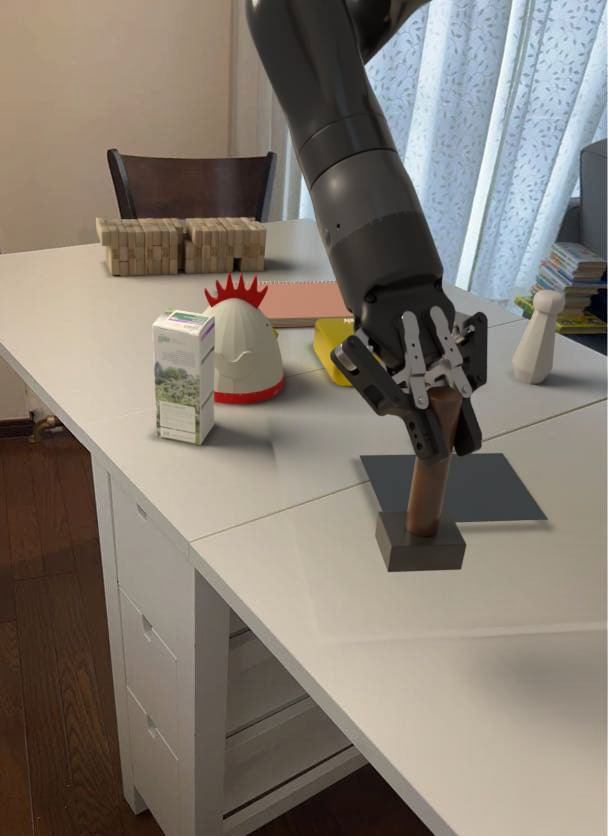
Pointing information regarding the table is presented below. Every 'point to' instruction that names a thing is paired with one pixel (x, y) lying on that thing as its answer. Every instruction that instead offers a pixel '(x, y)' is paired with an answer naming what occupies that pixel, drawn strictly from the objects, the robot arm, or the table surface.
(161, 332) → the syrup box
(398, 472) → the board
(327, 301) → the notebook
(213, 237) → the block tower
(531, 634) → the table surface
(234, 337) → the kitchen timer
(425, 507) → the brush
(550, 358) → the salt shaker
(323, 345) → the element tile
